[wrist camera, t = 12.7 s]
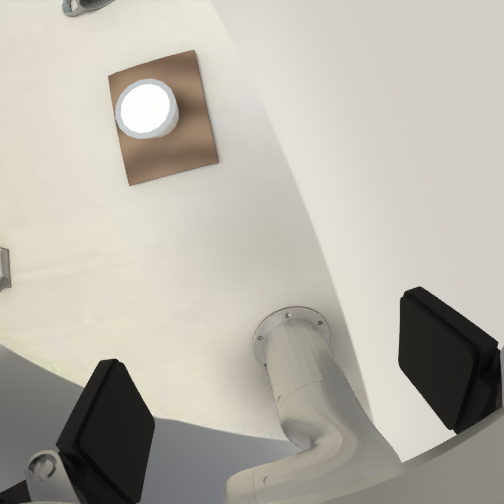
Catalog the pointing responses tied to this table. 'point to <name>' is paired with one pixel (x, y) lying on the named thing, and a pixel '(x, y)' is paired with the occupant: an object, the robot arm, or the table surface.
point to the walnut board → (186, 131)
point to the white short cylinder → (147, 109)
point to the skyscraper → (4, 269)
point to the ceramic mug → (83, 6)
